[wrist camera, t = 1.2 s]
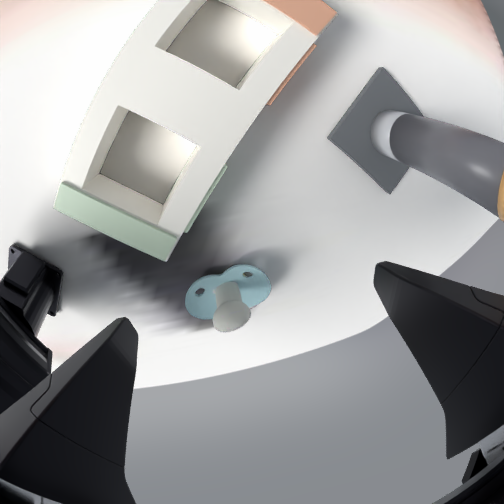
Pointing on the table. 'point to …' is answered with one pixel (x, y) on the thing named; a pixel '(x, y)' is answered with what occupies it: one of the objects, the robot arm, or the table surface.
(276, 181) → the table surface
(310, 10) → the socket panel
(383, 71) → the mat
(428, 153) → the plug
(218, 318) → the pacifier
